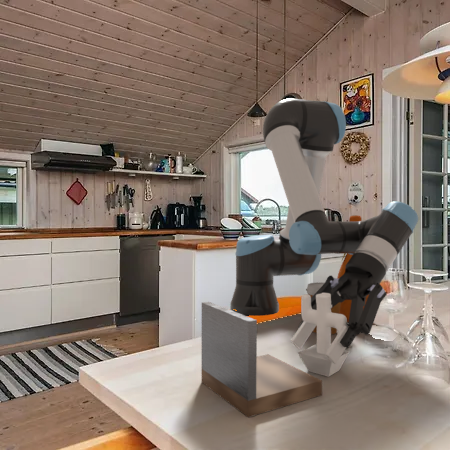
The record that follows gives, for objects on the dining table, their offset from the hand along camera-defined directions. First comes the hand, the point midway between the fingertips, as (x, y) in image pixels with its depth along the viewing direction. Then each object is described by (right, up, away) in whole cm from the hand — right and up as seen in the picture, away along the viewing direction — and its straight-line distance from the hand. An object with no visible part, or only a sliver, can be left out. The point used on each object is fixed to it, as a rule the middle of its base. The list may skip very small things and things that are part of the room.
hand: (312, 351), depth 79 cm
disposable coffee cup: (+9, -4, +29) cm, 30 cm away
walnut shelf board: (-10, -5, -6) cm, 13 cm away
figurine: (+3, -5, +2) cm, 6 cm away
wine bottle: (+20, -3, +39) cm, 44 cm away
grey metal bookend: (-16, -2, -10) cm, 19 cm away
